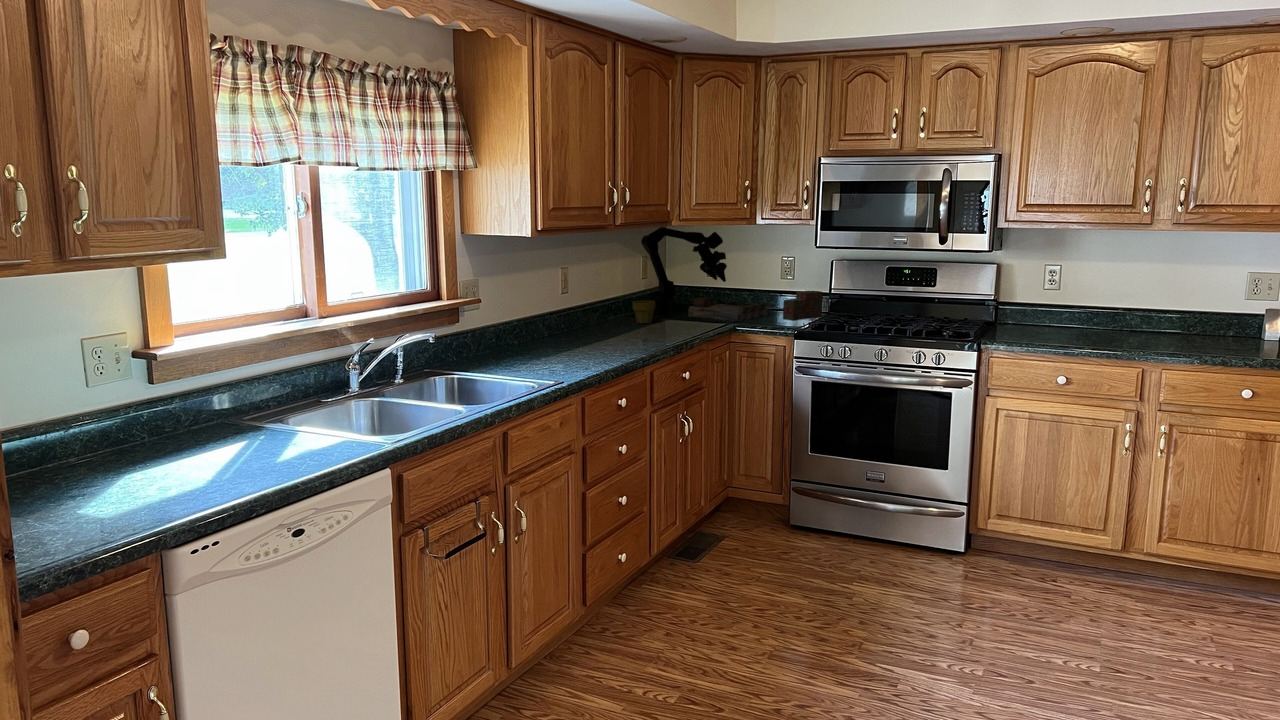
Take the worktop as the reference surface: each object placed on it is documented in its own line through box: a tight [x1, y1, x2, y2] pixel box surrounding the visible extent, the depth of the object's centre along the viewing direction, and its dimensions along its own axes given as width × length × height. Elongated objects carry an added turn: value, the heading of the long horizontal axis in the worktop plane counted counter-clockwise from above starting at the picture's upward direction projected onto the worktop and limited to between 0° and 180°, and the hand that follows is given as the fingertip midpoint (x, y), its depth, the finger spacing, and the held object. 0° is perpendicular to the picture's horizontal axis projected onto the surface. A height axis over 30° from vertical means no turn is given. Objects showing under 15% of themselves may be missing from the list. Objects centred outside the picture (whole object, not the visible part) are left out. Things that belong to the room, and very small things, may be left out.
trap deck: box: [687, 302, 770, 322], centre depth 441 cm, size 28×35×6 cm
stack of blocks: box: [782, 290, 824, 321], centre depth 431 cm, size 21×6×12 cm, turn 131°
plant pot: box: [632, 300, 656, 324], centre depth 415 cm, size 10×10×10 cm
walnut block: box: [692, 297, 712, 308], centre depth 448 cm, size 6×6×4 cm
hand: (720, 280), depth 455 cm, fingers open, 9 cm apart
